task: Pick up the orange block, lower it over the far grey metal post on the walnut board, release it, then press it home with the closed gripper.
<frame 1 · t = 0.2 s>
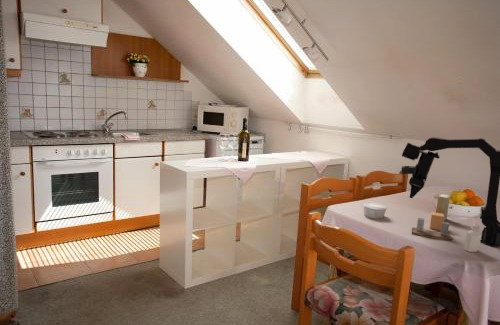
hand: (411, 195, 186), 15 cm above the table, tool pointing down, fingers open, 9 cm apart
far post: (419, 233, 181), resting on board
near post: (443, 237, 177), resting on board
eye dropper bottle: (471, 251, 164), on the table
skincare box: (440, 219, 205), on the table
ramekin: (373, 216, 203), on the table
orange block: (435, 227, 190), on the table
board: (431, 235, 179), on the table
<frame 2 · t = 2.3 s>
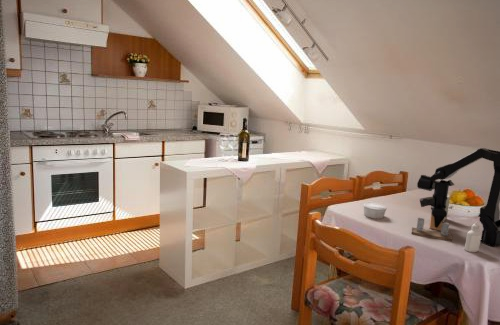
hand: (435, 225, 190), 1 cm above the table, tool pointing down, fingers closed on orange block, 5 cm apart
orange block: (435, 227, 190), on the table, touching gripper
everything else where it was.
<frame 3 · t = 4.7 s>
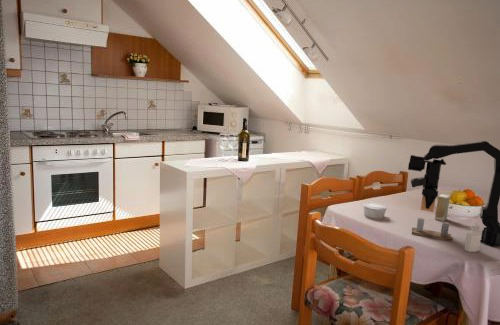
hand: (427, 207, 182), 11 cm above the table, tool pointing down, fingers closed on orange block, 5 cm apart
orange block: (426, 209, 182), point 10 cm above the table, touching gripper
everything else where it was.
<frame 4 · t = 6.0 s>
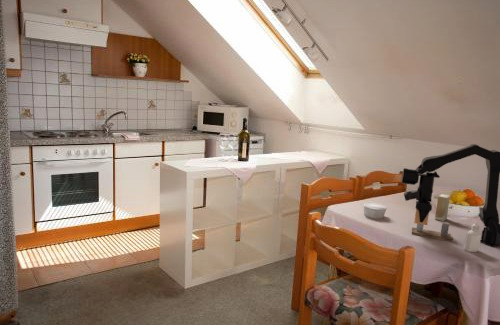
hand: (421, 220, 180), 6 cm above the table, tool pointing down, fingers closed on orange block, 5 cm apart
orange block: (420, 222, 180), point 5 cm above the table, touching gripper
everything else where it was.
when the fingers open (3 cm above the table, at t = 7.0 s): orange block stays where it is, resting on board.
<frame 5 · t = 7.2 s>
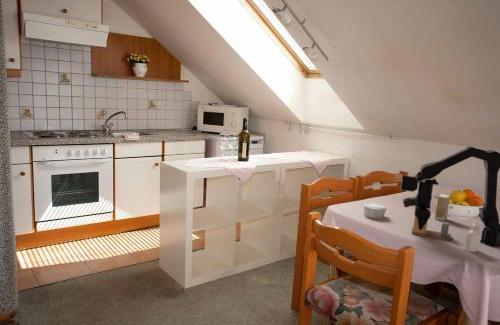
hand: (420, 227, 181), 3 cm above the table, tool pointing down, fingers open, 7 cm apart
orange block: (419, 230, 181), point 1 cm above the table, touching board
everything else where it was.
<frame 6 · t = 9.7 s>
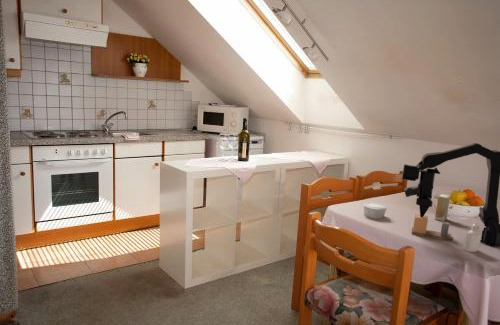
hand: (421, 216, 180), 8 cm above the table, tool pointing down, fingers closed, pressing on orange block
orange block: (419, 230, 181), point 1 cm above the table, touching board, gripper
everything else where it was.
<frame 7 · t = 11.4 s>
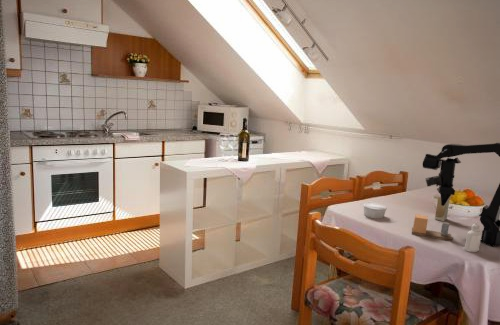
hand: (442, 205, 185), 12 cm above the table, tool pointing down, fingers closed
orange block: (419, 230, 181), point 1 cm above the table, touching board
everything else where it was.
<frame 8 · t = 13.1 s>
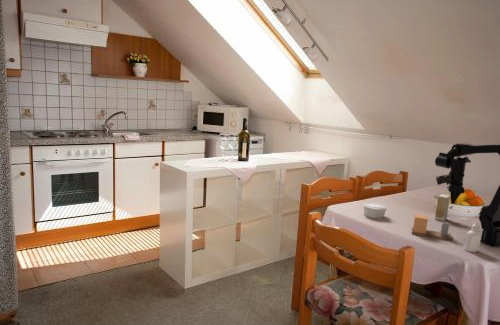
hand: (452, 203, 188), 12 cm above the table, tool pointing down, fingers closed
nothing on the table moved.
at the end: orange block 0.0 cm from the far post (horizontally); orange block point 1.0 cm above the table; orange block tilted 0° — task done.
